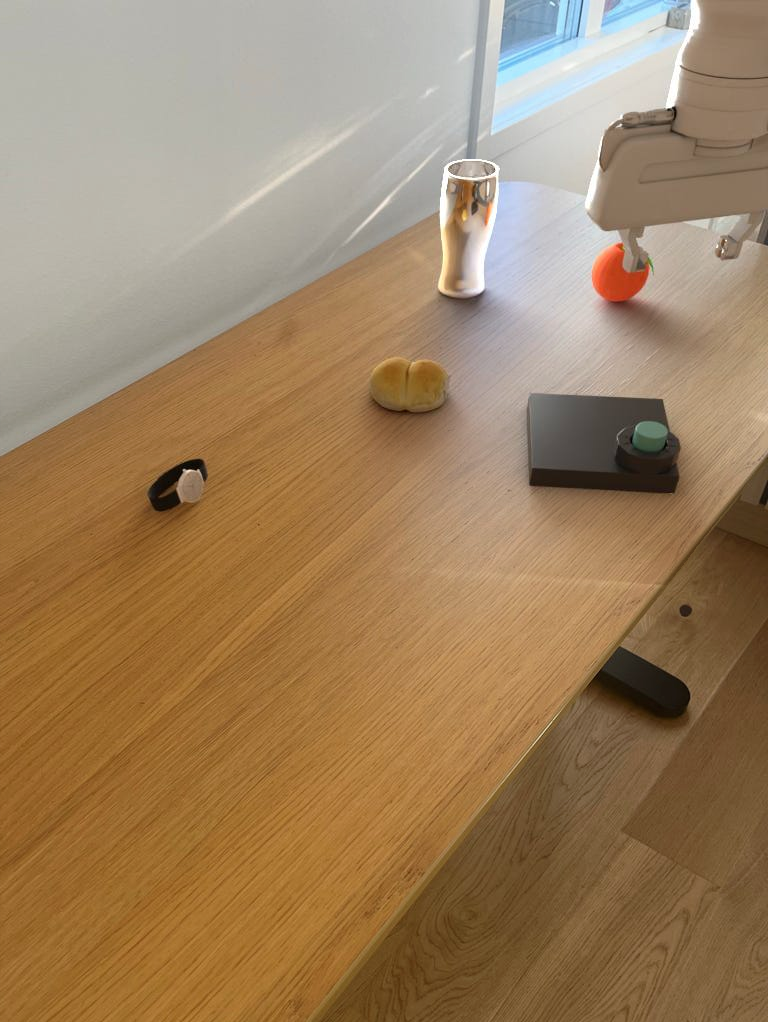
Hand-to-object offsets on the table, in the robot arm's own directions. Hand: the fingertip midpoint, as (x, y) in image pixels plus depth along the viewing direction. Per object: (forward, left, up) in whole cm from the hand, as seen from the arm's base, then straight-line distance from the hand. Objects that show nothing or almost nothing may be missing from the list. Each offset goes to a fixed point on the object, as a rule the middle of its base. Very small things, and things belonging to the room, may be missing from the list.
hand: (679, 263), depth 89 cm
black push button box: (+5, +5, -18) cm, 19 cm away
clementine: (0, -29, -18) cm, 34 cm away
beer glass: (+20, -31, -18) cm, 40 cm away
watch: (+47, +17, -18) cm, 53 cm away
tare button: (+1, +10, -14) cm, 17 cm away
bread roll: (+25, -4, -18) cm, 31 cm away
